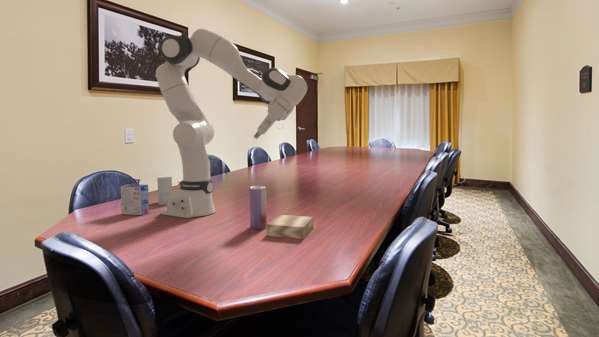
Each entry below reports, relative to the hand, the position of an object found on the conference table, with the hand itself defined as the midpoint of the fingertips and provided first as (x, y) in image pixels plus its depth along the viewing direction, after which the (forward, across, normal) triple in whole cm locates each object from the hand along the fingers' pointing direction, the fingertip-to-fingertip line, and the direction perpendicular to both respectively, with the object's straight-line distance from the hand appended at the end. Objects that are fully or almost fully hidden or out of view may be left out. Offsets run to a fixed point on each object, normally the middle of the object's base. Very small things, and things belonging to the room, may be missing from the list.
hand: (257, 134), depth 138 cm
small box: (+39, -51, -13) cm, 66 cm away
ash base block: (+22, +9, +31) cm, 39 cm away
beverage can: (+27, 0, +22) cm, 35 cm away
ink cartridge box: (+50, -36, -18) cm, 64 cm away
